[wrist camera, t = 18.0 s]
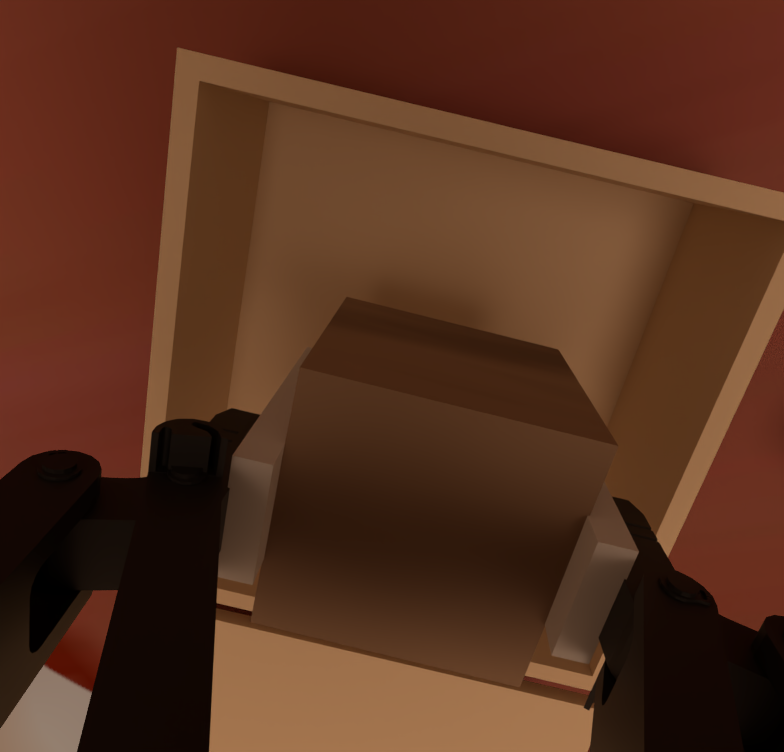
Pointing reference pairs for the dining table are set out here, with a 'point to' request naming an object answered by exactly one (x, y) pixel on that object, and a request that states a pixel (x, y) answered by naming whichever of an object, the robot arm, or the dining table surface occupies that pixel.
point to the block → (430, 492)
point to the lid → (372, 701)
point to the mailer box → (457, 267)
